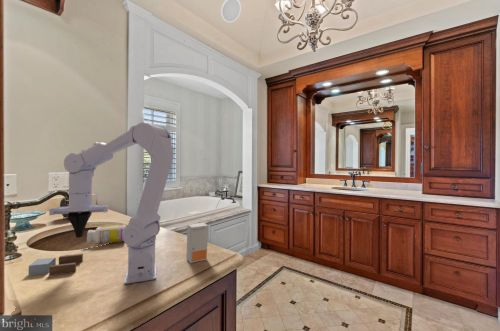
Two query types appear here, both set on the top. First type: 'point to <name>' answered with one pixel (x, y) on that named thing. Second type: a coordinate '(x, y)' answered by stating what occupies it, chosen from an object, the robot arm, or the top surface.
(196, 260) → the skincare box
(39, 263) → the block
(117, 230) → the supplement bottle
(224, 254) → the top surface
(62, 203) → the alarm clock
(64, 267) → the channel
